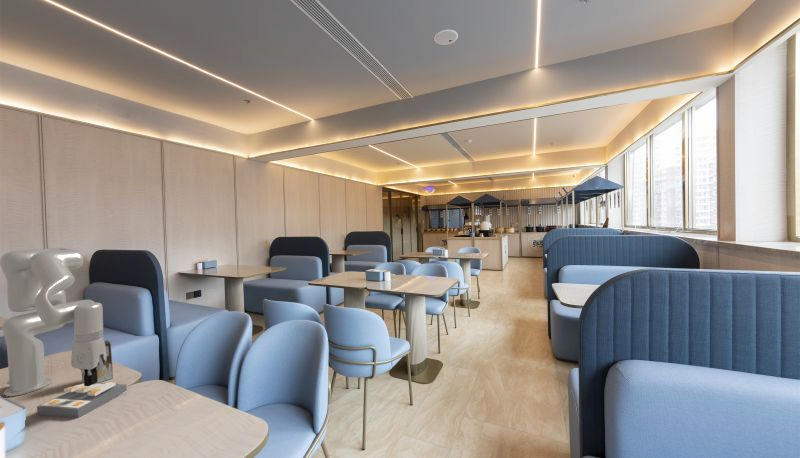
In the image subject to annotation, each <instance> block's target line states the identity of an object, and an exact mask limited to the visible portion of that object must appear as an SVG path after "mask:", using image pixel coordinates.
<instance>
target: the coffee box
mask: <svg viewBox="0 0 800 458" xmlns="http://www.w3.org/2000/svg"><path fill="white" fill-rule="evenodd" d="M104 342H105V347H106V363H105V364H103V365H104V369H102V370H99V372H97V378H98V382H97V383H104V382H105V381H108V380H112V379H113V378H114V371H113V368H114V367H113V355H112V345H111V341H110V340H104ZM84 376H85V375H83V374H82V371H81V384H84Z"/></svg>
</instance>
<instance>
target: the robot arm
mask: <svg viewBox="0 0 800 458" xmlns="http://www.w3.org/2000/svg"><path fill="white" fill-rule="evenodd" d="M84 259H85V258H84V256H83V254H82V253H81V252H80V251H78V250H76V249H74V248H66V247H50V248H49V247H48V248H32V249H29V248H28V249H19V250H12V251H8V252H6V253H3V255H2V256H0V269H1V271H2V273H3V275H4V276H5V279H6V283H7V285H6V286H7V307H8V309H9V310H10V312H13V313H23V312H28V311H32V312H29V313H23V314H18V315H15V316H12V317H9V318H8V319H6V320H4V322H3V323H2V325H1V330H2V331H1V332H2V334H3V336H4V340H5V343H6V349H7V350H6V351H7V364H8V365H7V367H8V368H7V369H8V381H7V382H6V385H9V387H8V388H7V389H6V390H5V391H3V396H4V395H6V396H5V397H8V396H9V397H17V396H21V395H26V394H29V393H33V392H35V391H38V390H40V389H43V388H45V387H47V386H48V385H50V384H51V383H52V378H49V377H46V364H45V362H46V361H45V347H44V342H43V341H42V339H39V338H37V337H35V336H36V335H39V334H43V333H46V332H47V333H48V332H51V331H54V330H58V329H60V328H62V327H64V326H65V325H68V324H69V323H70V324H71V323H73V332H74V333H73V334H74V337H73V338H74V341H73V343H72V349H71V357H70V358H71V361H70V364H71V367H72V368H74V369H78V370H81V371H82V373H81V375H82V374H83V375H85V376H84V386H91V385H93V384H95V383H97V382H98V378H97V372H99V370H102V369H104V365H103V364H105V363H106V347H105V342H104V341H105V339H104V314H103V313H104V310H103V309H104V308H103V304H102V303H100V302H99V301H98V302H97V301H96V302H95V301H94V300H92V299H82V300H81V299H80V300H75V301H71V302H67V296H66V291H65V290H66V289H68V288H69V287H71V286H72V285H73V284H74V283H75V280H76V278H75V277H74V275H73V274H72V271H71V270H77V269H79V268H82V266H83V264H84ZM34 310H35V311H34Z"/></svg>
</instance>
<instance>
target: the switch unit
mask: <svg viewBox="0 0 800 458" xmlns="http://www.w3.org/2000/svg"><path fill="white" fill-rule="evenodd" d="M95 384H106V383H104V382H100V383H95ZM93 385H94V384H93ZM127 388H128V387H127V384H121V383H116V385H115V386H113V387H111V388H109V389H107V390H106V391H104V392H102V393H100V394H98V395H96V396H88V395H87V393H88V392H90V391H88V392H84V393H78V392H76V391H73V392H64V394H61V395H59V396H57V397H55V398H52V399H50V400H48V401H46V402H44V403H41V404H39V405H38V406H36V411H37V412H36V415H38V416H53V417H63V418H78V419H79V418H81V417H83V416H84V415H86V414H87V415H88V414H89V413H90V412H93V411H94V410H96V409H98V408H99V406H100V407H102V406H103V405H105V404H107V403H109V402H110V400H111V401H112V399H113V398H114V399H116V398H118V397H120V396H121V395H120V394H122V393H123V392H125V391H126V390H127ZM91 391H92V390H91ZM127 391H128V390H127ZM119 395H120V396H119ZM122 395H123V394H122ZM117 396H118V397H117ZM115 397H116V398H115ZM114 399H113V400H114Z"/></svg>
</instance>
